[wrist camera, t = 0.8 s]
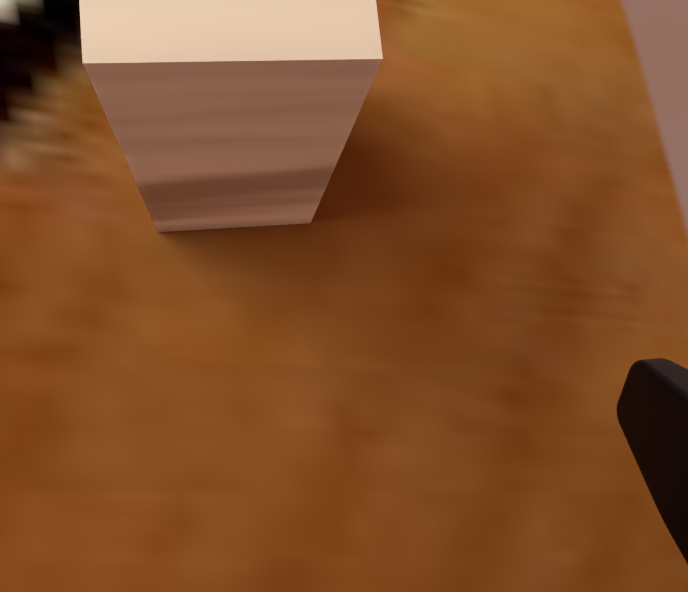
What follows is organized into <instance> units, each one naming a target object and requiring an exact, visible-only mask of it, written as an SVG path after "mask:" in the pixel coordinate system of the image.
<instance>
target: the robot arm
mask: <svg viewBox="0 0 688 592" xmlns="http://www.w3.org/2000/svg"><path fill="white" fill-rule="evenodd" d="M617 417H618V421H619V424H620V426H621V428H622V430H623V433H624V435H625V437H626V439H627V442H628V444H629V446H630V448H631V451H632V453H633V455H634V457H635V460H636V462H637V464H638V466H639V469H640V471H641V473H642V475H643V478H644V480H645V482H646V484H647V487H648V489H649V491H650V493H651V496H652V498H653V500H654V502H655V504H656V507H657V509H658V511H659V513H660V515H661V517H662V519H663V521H664V523H665V525H666V526H667V528H668V530H669V532H670V534H671V536H672V537H673V539H674V541H675V543H676V544H677V546H678V548H679V550H680V551H681V553H682V555H683V557H684V558H685V560H686V562H687V564H688V369H686V368H684V367H682V366H680V365H678V364H676V363H674V362H672V361H670V360H667V359H663V358H657V359H646V360H639V361H636V362H635V363H634V364H633V365H632V366H631V368H630V370H629V373H628V375H627V378H626V381H625V384H624V386H623V389H622V392H621V395H620V398H619V400H618V404H617Z"/></svg>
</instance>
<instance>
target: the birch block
mask: <svg viewBox="0 0 688 592" xmlns="http://www.w3.org/2000/svg"><path fill="white" fill-rule="evenodd" d="M79 3H80V22H81V41H82V60H83V65H84V67H85V70H86V72H87V74H88V76H89V79H90V81H91V83H92V85H93V88H94V90H95V92H96V94H97V97H98V99H99V101H100V103H101V106H102V108H103V110H104V112H105V114H106V117H107V119H108V121H109V123H110V126H111V128H112V130H113V132H114V135H115V137H116V139H117V141H118V144H119V146H120V148H121V150H122V153H123V155H124V157H125V159H126V161H127V164H128V166H129V168H130V170H131V173H132V175H133V177H134V179H135V182H136V184H137V186H138V188H139V191H140V193H141V195H142V197H143V199H144V202H145V204H146V206H147V208H148V211H149V213H150V215H151V217H152V220H153V222H154V224H155V226H156V229H157V231H158V232H171V231H188V230H204V229H221V228H238V227H255V226H271V225H288V224H305V223H311V221H312V219H313V216H314V214H315V212H316V210H317V207H318V205H319V203H320V200H321V198H322V196H323V194H324V191H325V189H326V187H327V185H328V182H329V180H330V178H331V175H332V173H333V171H334V169H335V166H336V164H337V162H338V160H339V157H340V155H341V153H342V150H343V148H344V146H345V144H346V141H347V139H348V137H349V135H350V132H351V130H352V128H353V126H354V123H355V121H356V119H357V116H358V114H359V112H360V110H361V107H362V105H363V103H364V101H365V98H366V96H367V94H368V91H369V89H370V87H371V85H372V82H373V80H374V78H375V76H376V73H377V71H378V69H379V66H380V64H381V62H382V60H383V56H382V48H381V40H380V31H379V23H378V15H377V6H376V0H79Z"/></svg>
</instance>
